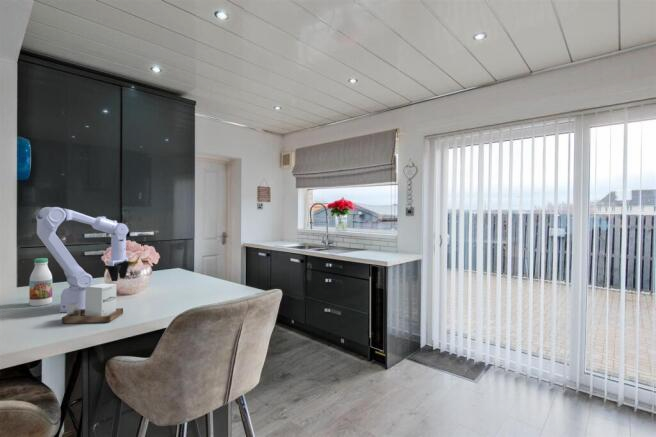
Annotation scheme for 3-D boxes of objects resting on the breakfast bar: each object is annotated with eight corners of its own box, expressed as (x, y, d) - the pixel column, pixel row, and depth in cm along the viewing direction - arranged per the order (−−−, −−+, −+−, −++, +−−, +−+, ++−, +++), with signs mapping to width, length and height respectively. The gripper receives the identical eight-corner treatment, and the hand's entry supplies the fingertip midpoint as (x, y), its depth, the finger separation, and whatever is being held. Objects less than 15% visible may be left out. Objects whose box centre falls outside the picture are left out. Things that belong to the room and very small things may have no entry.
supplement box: (101, 321, 126) (101, 287, 126) (84, 320, 128) (84, 286, 127) (117, 315, 133) (117, 283, 133) (100, 314, 135) (101, 282, 135)
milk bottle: (25, 305, 147) (25, 259, 147) (45, 301, 154) (45, 257, 154) (35, 307, 144) (36, 260, 144) (56, 303, 151) (56, 258, 151)
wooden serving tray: (59, 323, 124) (59, 307, 124) (77, 314, 134) (78, 300, 134) (109, 321, 126) (109, 306, 126) (123, 313, 137) (123, 299, 137)
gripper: (120, 251, 147) (120, 282, 148) (134, 247, 162) (134, 276, 162) (102, 251, 146) (103, 282, 147) (119, 247, 161) (119, 276, 161)
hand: (118, 279), depth 154 cm, fingers open, 7 cm apart
